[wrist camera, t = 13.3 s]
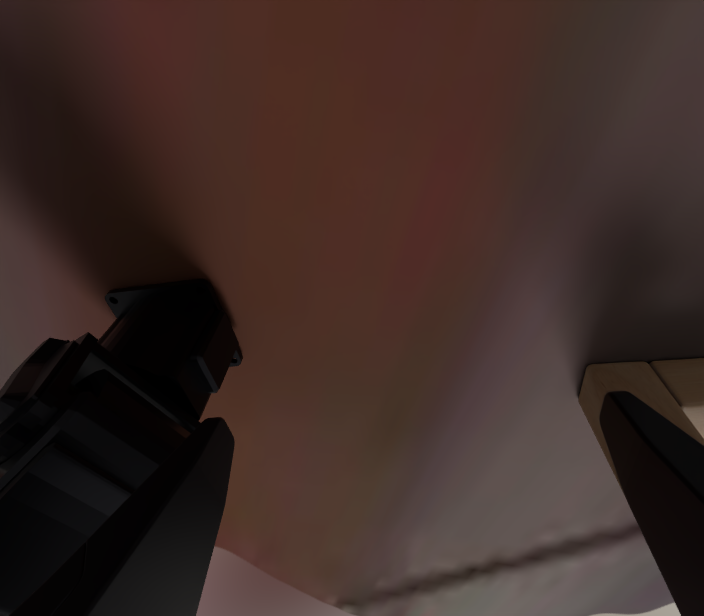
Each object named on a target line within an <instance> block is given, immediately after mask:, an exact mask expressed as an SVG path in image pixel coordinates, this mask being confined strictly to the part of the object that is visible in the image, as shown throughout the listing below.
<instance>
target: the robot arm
mask: <svg viewBox="0 0 704 616" xmlns="http://www.w3.org/2000/svg"><path fill="white" fill-rule="evenodd" d="M199 286H200V287H203V288H204V289H205V290H202V289H200V287H199ZM114 297H115V298H116V299H117V300H116V299H115V298H114ZM105 300H106V302H107V304H108V305H109V307H110V308H111V310H112V311H113V313H114V315H115V316H116V318H117V319H116V320H115V321H114V323H113V324H112V325H111V326H110V327H109V329H108V330H107V331H106V332H105V333H104V334H103V336H102V337H101V338H100V339H99V340H98V339H96V338H95V337H94V336H93V335H91V334H90V333H89V332H87V333H86V334H84V335H83V336H81V337H80V338H78V339H76V340H75V341H74V340H73V341H71V342H70V341H69V340H67V341H64V340H59V339H54V338H49V339H47V340H46V341H44V342H43V343H42V344H41V345H40V346H39V347H38V348H37V349H36V350H35V351H34V352H33V353H32V354H31V355H30V356H29V357H28V358H27V359H26V360H25V361H24V362H23V363H22V364H21V365H20V366H19V367H18V368H17V369H16V370H15V371H14V372H13V374H12V375H11V376H10V378H9V379H8V380H7V382H6V383H5V385H4V386H3V387H2V389H1V390H0V616H196V613H197V609H198V605H199V601H200V598H201V594H202V590H203V586H204V582H205V579H206V575H207V571H208V568H209V564H210V560H211V556H212V552H213V549H214V545H215V541H216V537H217V534H218V530H219V526H220V522H221V519H222V515H223V511H224V507H225V502H226V496H227V490H228V484H229V477H230V471H231V465H232V458H233V452H234V437H233V435H232V433H231V431H230V429H229V427H228V426H227V424H226V422H225V420H224V419H223V418H221V417H216V418H207V419H205V420H204V421H203V422H202V423H200V422H199V420H200V418H201V415H202V413H203V411H204V409H205V406H206V404H207V402H208V400H209V397H210V395H211V393H217V391H218V390H219V389H220V387H221V384H222V382H223V380H224V377H225V375H226V372H227V370H228V368H229V367H232V366H239V365H240V364H241V361H242V359H243V356H242V353H241V351H240V349H239V347H238V344H239V343H238V340H237V338H236V336H235V333H234V331H233V329H232V326H231V324H230V322H229V320H228V317H227V315H226V313H225V312H224V311H223V310H222V308H221V306H220V304H219V302H218V299H217V297H216V295H215V293H214V290H213V288H212V286H211V284H210V283H209V282H208V281H207V280H204V279H196V280H188V281H179V282H171V283H163V284H155V285H147V286H139V287H130V288H122V289H114V290H110V291H109V292H108V294H107V295H106V296H105ZM97 341H98V342H97ZM234 358H236V359H234ZM599 422H600V426H601V429H602V432H603V435H604V438H605V441H606V444H607V447H608V450H609V453H610V456H611V459H612V461H613V464H614V467H615V470H616V473H617V476H618V479H619V482H620V485H621V487H622V490H623V493H624V495H625V497H626V499H627V502H628V504H629V506H630V508H631V510H632V512H633V515H634V517H635V519H636V521H637V523H638V525H639V527H640V529H641V531H642V534H643V536H644V538H645V540H646V542H647V544H648V546H649V548H650V551H651V553H652V555H653V557H654V559H655V561H656V563H657V565H658V567H659V570H660V572H661V574H662V576H663V578H664V580H665V582H666V584H667V587H668V589H669V591H670V593H671V595H672V597H673V599H674V601H675V603H676V605H677V608H678V610H679V612H680V614H681V616H704V445H702V444H701V443H700V442H698V441H697V440H696V439H694V438H693V437H691V436H690V435H689V434H687V433H686V432H684V431H683V430H682V429H680V428H679V427H678V426H676V425H675V424H673V423H672V422H671V421H669V420H668V419H666V418H665V417H664V416H662V415H661V414H660V413H658V412H657V411H655V410H654V409H653V408H651V407H650V406H649V405H647V404H646V403H644V402H643V401H642V400H640V399H639V398H637V397H636V396H635V395H633V394H632V393H630V392H628V391H609V392H607V393H606V394H605V396H604V400H603V403H602V407H601V411H600V415H599Z"/></svg>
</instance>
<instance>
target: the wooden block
mask: <svg viewBox="0 0 704 616" xmlns="http://www.w3.org/2000/svg"><path fill="white" fill-rule="evenodd" d="M609 391H628V392H630V393H632V394H633V395H635V396H636V397H637V398H639V399H640V400H642V401H643V402H644V403H646V404H647V405H649V406H650V407H651V408H653V409H654V410H655V411H657V412H658V413H660V414H661V415H662V416H664V417H665V418H666V419H668V420H669V421H671V422H672V423H673V424H675V425H676V426H678V427H679V428H680V429H682V430H683V431H684V432H686V433H687V434H689V435H690V436H691V437H693V438H694V439H696V440H697V441H698V442H700V443H701V444H702V445H704V358H694V359H678V360H661V361H653V362H651V363H650V364H648V363H646V362H644V361H635V362H618V363H602V364H591V365H588V366H587V368H586V372H585V376H584V380H583V384H582V387H581V391H580V395H579V404H580V406H581V408H582V410H583V412H584V414H585V416H586V418H587V420H588V422H589V424H590V426H591V428H592V430H593V432H594V434H595V436H596V438H597V440H598V442H599V444H600V446H601V448H602V450H603V452H604V455H605V457H606V459H607V461H608V463H609V465H610V467H611V469H612V471H613V473H614V475H615V477H616V479H617V481H618V483H619V485H620V482H619V479H618V476H617V473H616V470H615V467H614V464H613V461H612V459H611V456H610V453H609V450H608V447H607V444H606V441H605V438H604V435H603V432H602V429H601V426H600V422H599V415H600V411H601V407H602V403H603V400H604V396H605V394H606V393H607V392H609ZM620 487H621V485H620ZM621 489H622V487H621ZM622 491H623V490H622Z"/></svg>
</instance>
